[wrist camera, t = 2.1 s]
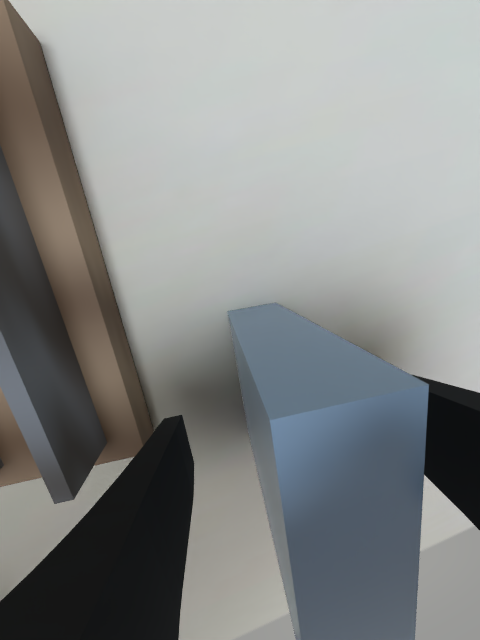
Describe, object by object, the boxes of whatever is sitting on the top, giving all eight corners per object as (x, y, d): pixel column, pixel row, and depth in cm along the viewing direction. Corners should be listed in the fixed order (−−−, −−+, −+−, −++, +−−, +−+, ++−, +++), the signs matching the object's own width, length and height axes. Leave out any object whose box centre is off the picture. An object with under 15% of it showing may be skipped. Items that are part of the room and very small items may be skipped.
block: (290, 424, 13) (413, 665, 5) (248, 433, 13) (309, 701, 5) (275, 302, 11) (429, 385, 3) (227, 311, 11) (269, 419, 3)
